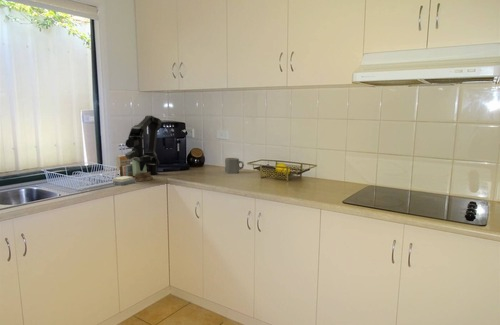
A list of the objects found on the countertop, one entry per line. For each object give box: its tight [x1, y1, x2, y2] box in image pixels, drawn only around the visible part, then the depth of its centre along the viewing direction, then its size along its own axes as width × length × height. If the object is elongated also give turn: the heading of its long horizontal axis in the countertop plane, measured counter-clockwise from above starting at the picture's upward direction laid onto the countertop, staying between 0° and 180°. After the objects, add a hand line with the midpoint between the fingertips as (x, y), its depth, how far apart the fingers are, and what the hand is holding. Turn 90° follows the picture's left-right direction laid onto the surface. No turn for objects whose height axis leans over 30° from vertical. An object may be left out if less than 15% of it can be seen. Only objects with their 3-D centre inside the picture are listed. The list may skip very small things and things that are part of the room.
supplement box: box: [115, 154, 131, 172], centre depth 237 cm, size 8×5×13 cm, turn 143°
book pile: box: [112, 176, 136, 186], centre depth 208 cm, size 11×9×3 cm
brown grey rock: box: [119, 164, 154, 183], centre depth 222 cm, size 11×20×8 cm, turn 52°
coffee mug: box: [224, 157, 245, 175], centre depth 246 cm, size 13×10×10 cm
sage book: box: [131, 159, 147, 176], centre depth 219 cm, size 7×4×10 cm, turn 142°
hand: (139, 170), depth 219 cm, fingers closed on sage book, 4 cm apart
